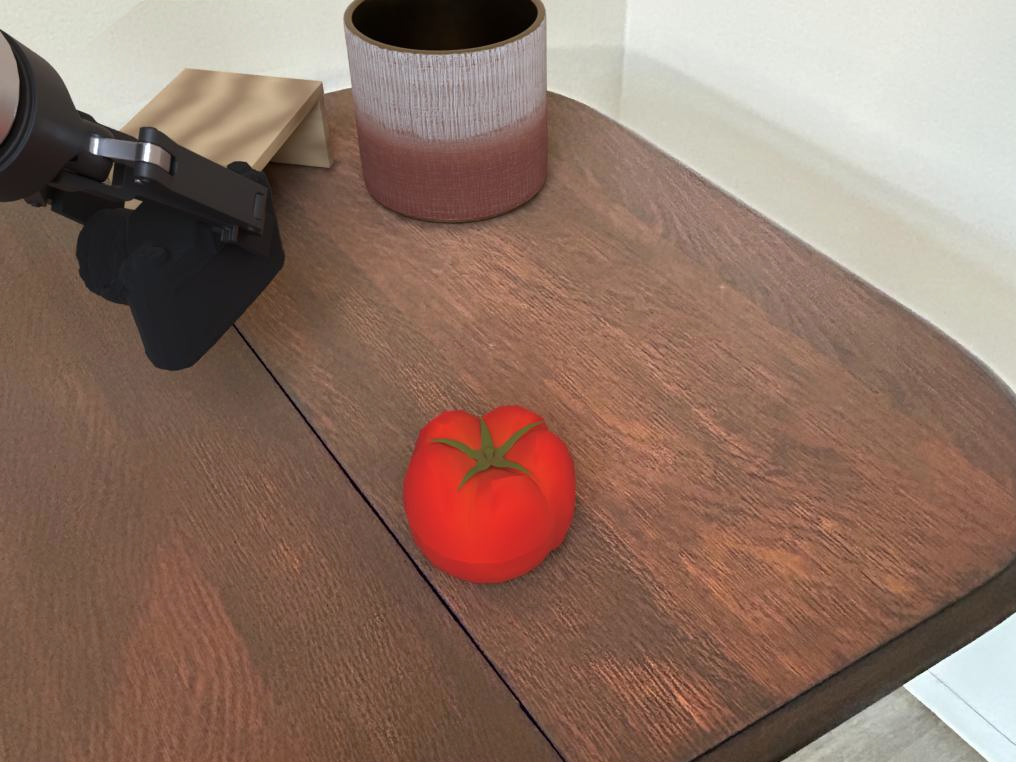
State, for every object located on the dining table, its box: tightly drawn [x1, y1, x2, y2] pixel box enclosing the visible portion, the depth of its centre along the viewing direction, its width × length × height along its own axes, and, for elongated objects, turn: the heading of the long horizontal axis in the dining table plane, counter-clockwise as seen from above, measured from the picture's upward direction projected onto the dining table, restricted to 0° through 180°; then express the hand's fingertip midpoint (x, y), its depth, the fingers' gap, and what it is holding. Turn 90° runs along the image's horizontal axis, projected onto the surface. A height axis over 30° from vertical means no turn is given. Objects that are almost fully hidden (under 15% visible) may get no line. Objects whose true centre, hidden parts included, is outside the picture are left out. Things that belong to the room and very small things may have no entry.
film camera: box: [75, 161, 286, 372], centre depth 66 cm, size 15×10×9 cm, turn 161°
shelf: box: [108, 67, 335, 210], centre depth 95 cm, size 14×17×8 cm
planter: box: [342, 0, 549, 223], centre depth 94 cm, size 18×18×16 cm
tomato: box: [402, 404, 577, 584], centre depth 64 cm, size 11×12×9 cm
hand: (191, 227), depth 68 cm, fingers closed on film camera, 10 cm apart
